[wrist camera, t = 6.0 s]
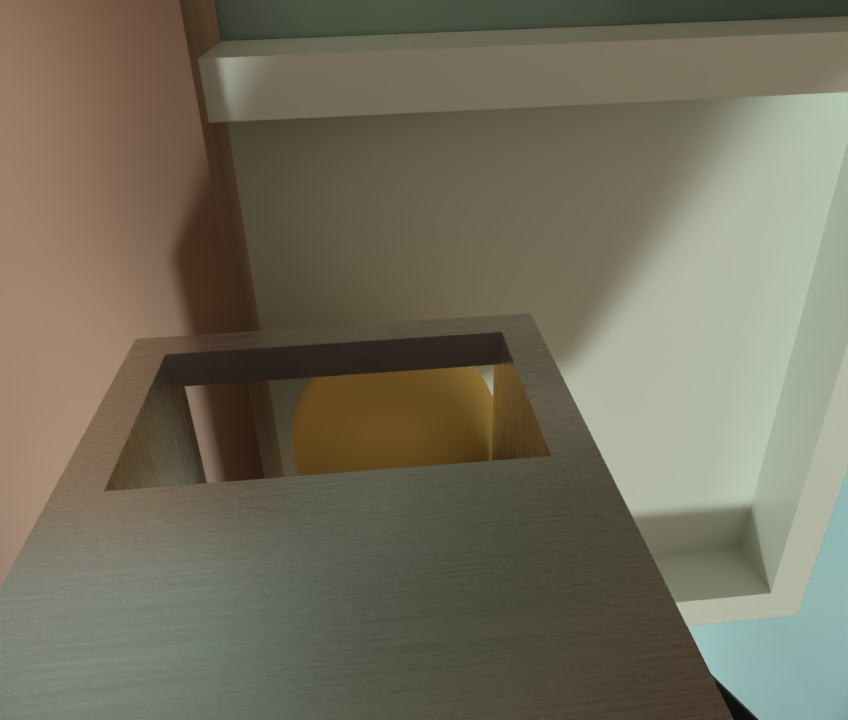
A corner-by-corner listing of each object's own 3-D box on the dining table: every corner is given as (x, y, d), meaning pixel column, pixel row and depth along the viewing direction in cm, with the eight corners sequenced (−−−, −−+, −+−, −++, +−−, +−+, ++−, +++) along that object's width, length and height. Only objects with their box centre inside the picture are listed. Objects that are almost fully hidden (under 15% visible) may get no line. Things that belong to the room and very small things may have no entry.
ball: (535, 319, 12) (434, 428, 9) (530, 488, 13) (443, 620, 11) (359, 287, 13) (229, 372, 11) (374, 441, 15) (264, 547, 12)
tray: (902, 14, 12) (997, 25, 10) (753, 550, 18) (797, 615, 16) (221, 41, 11) (197, 57, 9) (306, 591, 17) (302, 664, 15)
